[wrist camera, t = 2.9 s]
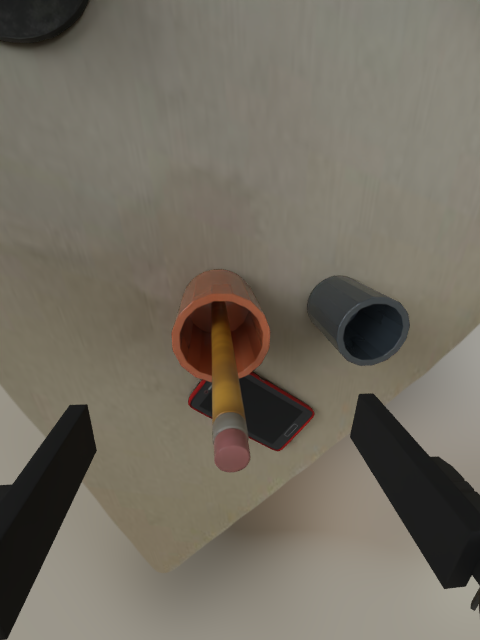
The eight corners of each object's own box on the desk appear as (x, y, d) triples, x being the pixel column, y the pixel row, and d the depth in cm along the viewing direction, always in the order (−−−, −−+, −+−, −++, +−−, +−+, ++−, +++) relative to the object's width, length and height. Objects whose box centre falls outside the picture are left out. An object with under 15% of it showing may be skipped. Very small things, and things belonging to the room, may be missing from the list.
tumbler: (310, 275, 30) (343, 297, 23) (367, 275, 31) (417, 297, 23) (304, 330, 32) (332, 366, 25) (357, 329, 33) (399, 364, 26)
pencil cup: (180, 268, 28) (168, 293, 20) (255, 269, 29) (273, 293, 21) (184, 337, 31) (174, 384, 23) (252, 336, 32) (267, 381, 24)
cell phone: (277, 448, 38) (279, 453, 38) (185, 400, 34) (184, 405, 33) (315, 408, 37) (317, 413, 36) (222, 352, 32) (222, 356, 31)
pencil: (211, 299, 29) (212, 445, 11) (226, 298, 30) (252, 443, 11) (211, 313, 30) (213, 475, 12) (226, 313, 30) (251, 472, 12)
